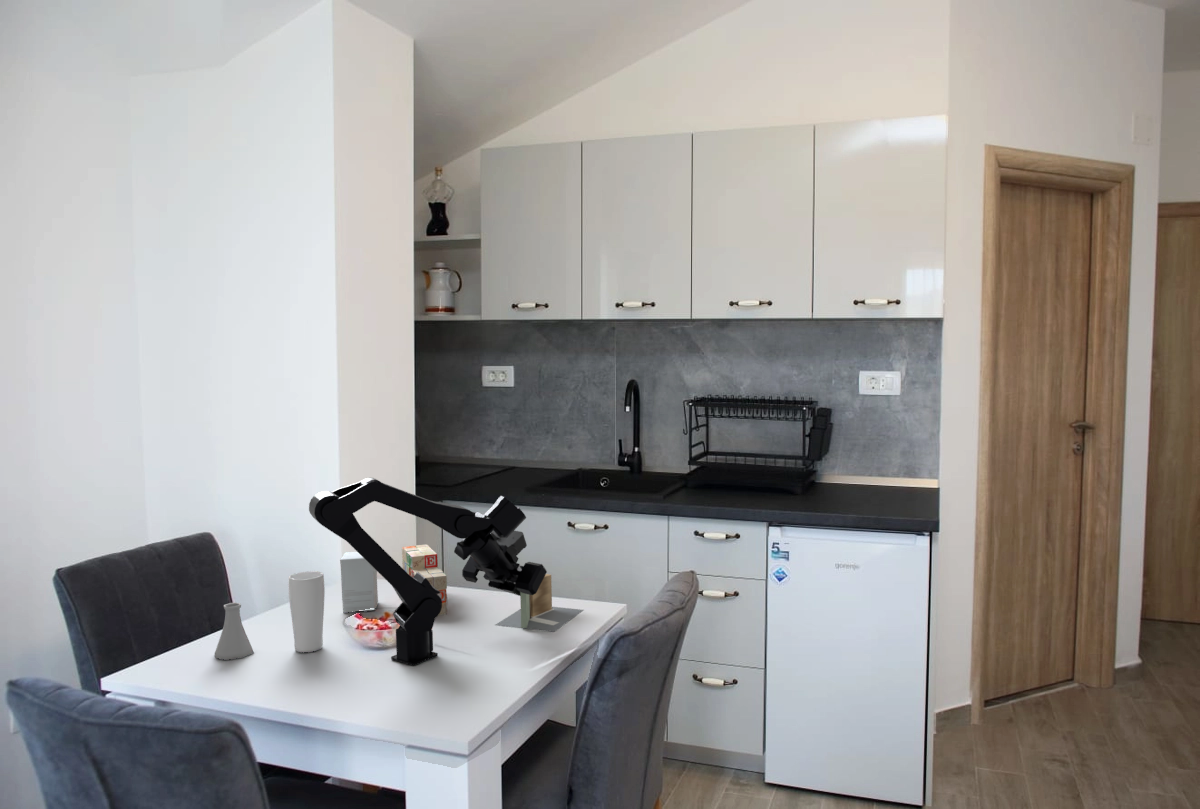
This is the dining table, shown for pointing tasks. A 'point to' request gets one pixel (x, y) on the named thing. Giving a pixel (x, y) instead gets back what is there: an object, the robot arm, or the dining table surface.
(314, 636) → the drinking glass
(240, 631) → the flask
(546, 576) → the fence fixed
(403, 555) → the stack of blocks
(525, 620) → the fence hinged panel
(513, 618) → the board
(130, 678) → the dining table surface
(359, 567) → the supplement box
